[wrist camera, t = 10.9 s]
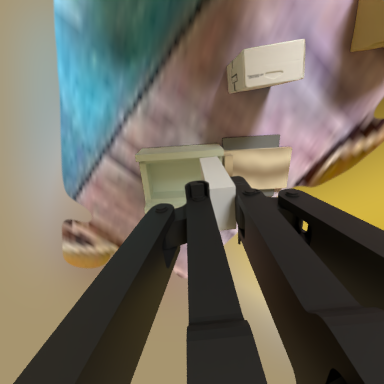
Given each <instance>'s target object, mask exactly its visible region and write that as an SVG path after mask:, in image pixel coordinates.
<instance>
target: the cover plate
mask: <svg viewBox="0 0 384 384" xmlns="http://www.w3.org/2000/svg"><path fill="white" fill-rule="evenodd" d="M291 152H292V148H291V147H276V148H258V149H240V150H224V156H222V165H223V166H224V168H225V170H226V171H227V173H228V175H229V176H230V177H232V176H241V177H243V178H244V179H245V180H246V181H247V182H248V184H249V185H250V186H251V188H255V189H275V188H286V186H287V179H288V172H289V166H290V159H291Z"/></svg>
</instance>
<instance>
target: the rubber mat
mask: <svg viewBox="0 0 384 384" xmlns="http://www.w3.org/2000/svg"><path fill="white" fill-rule="evenodd" d="M279 140H280V135H264V136H249V137H233V138H223V149H224V150H240V149H258V148H276V147H279ZM258 190H260V191H262V192H263V193H264V195H265V196H273V194H274V189H258Z"/></svg>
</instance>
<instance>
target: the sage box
mask: <svg viewBox="0 0 384 384" xmlns="http://www.w3.org/2000/svg"><path fill="white" fill-rule="evenodd" d="M215 156H217V157H218V158H219V160H220V162H221V163H222V156H224V149H223V148H222V147H221V146H220V145H219V144H218V143H215V144H200V145H185V146H170V147H154V148H142V149H141V150H140V151H139V152H138V153H137V154H136V155H135V158H136V162H139V166H140V172H141V178H142V184H143V190H144V196H145V202H146V205H145V208H144V211H145V214H146V213H147V212H148V211H149V209H150V208H152V207H153V206H155V205H157V204H160V203H168V204H172V205H173V206H174V209H175V208H179V207H181V206H183V205H185V204H186V194H185V184H187V183H189V182H191V181H198V180H201V170H200V159H199V158H206V157H215Z"/></svg>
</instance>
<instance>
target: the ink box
mask: <svg viewBox="0 0 384 384" xmlns="http://www.w3.org/2000/svg"><path fill="white" fill-rule="evenodd" d="M304 70H305V39H300V40H294V41H287V42H282V43H276V44H270V45H264V46H258V47H253V48H247V49H244V50H242V52H241V53H240V54H239V55H238V56H237V57H236V58H235V59H234V60H233V61H232V62H231V63H230V64H229V65H228V66H227V82H228V93H229V94H231V93H237V92H242V91H248V90H254V89H259V88H265V87H270V86H275V85H279V84H283V83H288V82H291V81H296V80H300V79H303V78H304Z"/></svg>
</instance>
